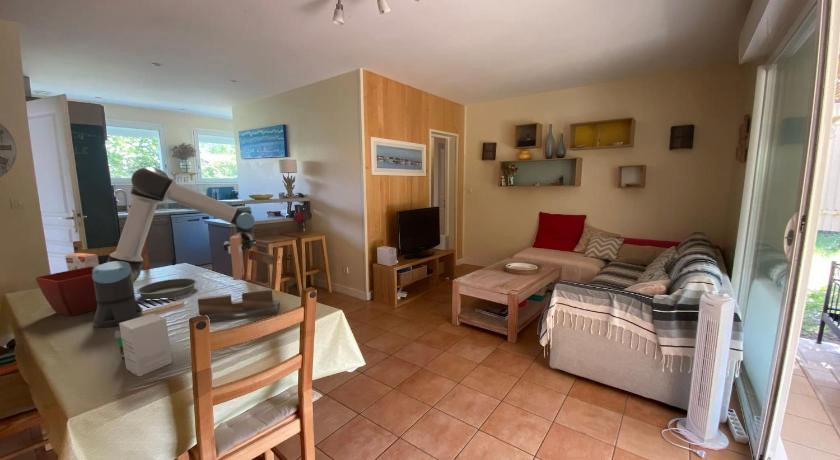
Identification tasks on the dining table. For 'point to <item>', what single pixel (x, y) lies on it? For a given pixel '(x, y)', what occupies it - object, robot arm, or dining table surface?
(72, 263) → the cracker box
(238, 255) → the halving plate
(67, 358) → the dining table surface
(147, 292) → the cake pan
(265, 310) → the cross board
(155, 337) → the supplement box
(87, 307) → the plant pot
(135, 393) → the dining table surface
